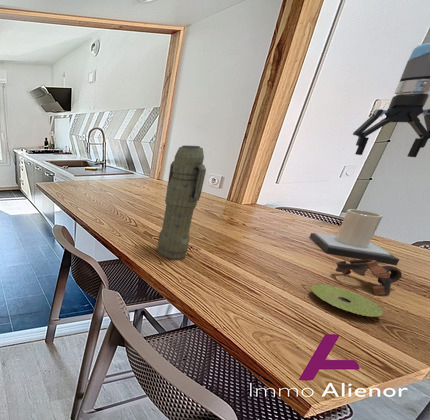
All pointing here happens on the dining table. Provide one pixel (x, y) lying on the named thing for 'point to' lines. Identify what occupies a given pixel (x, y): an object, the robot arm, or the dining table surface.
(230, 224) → the dining table surface
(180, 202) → the thermos
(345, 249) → the kitchen scale
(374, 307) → the green disc
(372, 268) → the brown branching piece
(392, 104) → the robot arm
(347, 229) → the cup
